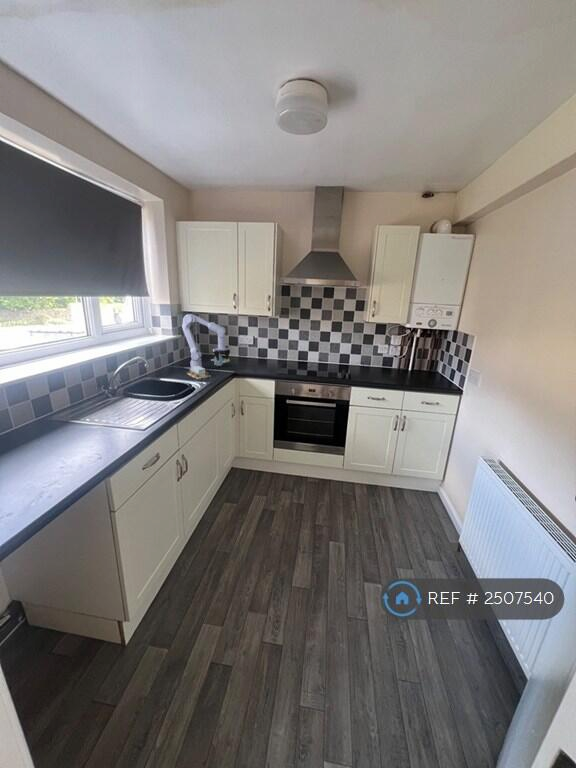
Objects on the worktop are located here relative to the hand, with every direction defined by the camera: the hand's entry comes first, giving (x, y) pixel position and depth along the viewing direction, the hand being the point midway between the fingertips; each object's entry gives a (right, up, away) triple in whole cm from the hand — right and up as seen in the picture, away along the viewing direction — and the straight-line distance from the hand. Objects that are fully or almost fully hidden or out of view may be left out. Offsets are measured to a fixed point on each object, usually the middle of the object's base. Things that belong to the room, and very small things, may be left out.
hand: (222, 359), depth 238 cm
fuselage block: (-15, -12, -13) cm, 23 cm away
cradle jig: (-15, -13, -13) cm, 23 cm away
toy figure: (-7, -4, +20) cm, 21 cm away
